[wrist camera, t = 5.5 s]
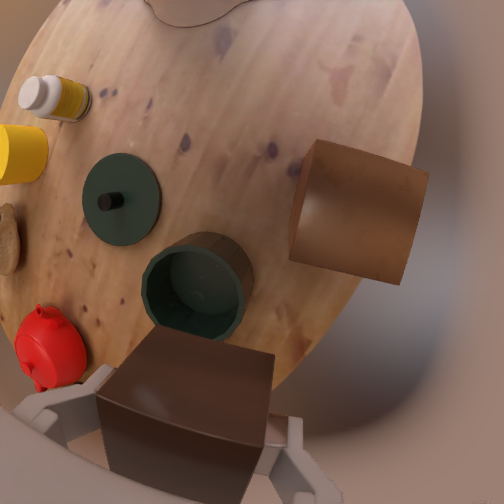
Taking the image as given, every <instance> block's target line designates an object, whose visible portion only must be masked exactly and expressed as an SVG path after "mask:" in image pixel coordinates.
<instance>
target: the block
mask: <svg viewBox="0 0 504 504" xmlns="http://www.w3.org/2000/svg"><path fill="white" fill-rule="evenodd" d="M274 362H275V355H274V354H270V353H265V352H261V351H256V350H252V349H248V348H243V347H239V346H235V345H231V344H227V343H223V342H219V341H215V340H211V339H208V338H204V337H200V336H196V335H193V334H189V333H186V332H182V331H179V330H175V329H172V328H169V327H165V326H162V325H159V324H157V325H156V326H155V327H154V328H153V329H152V330H151V331H150V332H149V334H148V335H147V336H146V337H145V338H144V339H143V340H142V341H141V342H140V344H139V345H138V346H137V347H136V348H135V349H134V350H133V351H132V353H131V354H130V355H129V356H128V357H127V358H126V359H125V361H124V362H123V363H122V364H121V365H120V366H119V367H118V368H117V370H116V371H115V372H114V373H113V374H112V375H111V376H110V378H109V379H108V380H107V381H106V382H105V383H104V384H103V386H102V387H101V388H100V389H99V390H98V391H97V393H96V394H95V397H96V404H97V410H98V416H99V422H100V428H101V433H102V437H103V443H104V447H105V452H106V456H107V460H108V464H109V468H110V470H111V471H113V472H115V473H117V474H120V475H122V476H124V477H127V478H129V479H132V480H134V481H137V482H139V483H142V484H144V485H147V486H150V487H153V488H155V489H158V490H161V491H164V492H167V493H170V494H173V495H177V496H180V497H183V498H187V499H190V500H194V501H197V502H201V503H205V504H240V503H241V501H242V499H243V497H244V494H245V492H246V490H247V487H248V485H249V483H250V480H251V478H252V476H253V473H254V471H255V469H256V466H257V464H258V461H259V459H260V456H261V454H262V451H263V449H264V445H265V437H266V429H267V422H268V414H269V405H270V397H271V389H272V380H273V371H274Z"/></svg>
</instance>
